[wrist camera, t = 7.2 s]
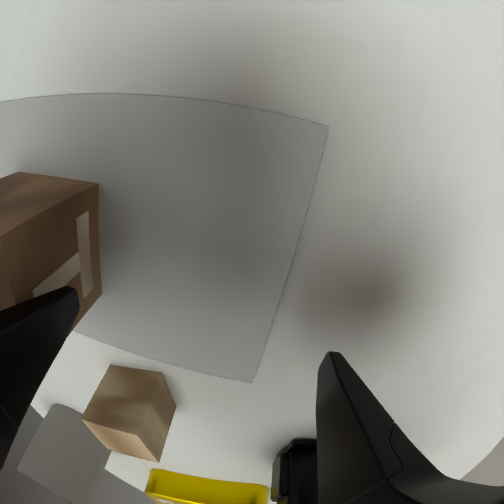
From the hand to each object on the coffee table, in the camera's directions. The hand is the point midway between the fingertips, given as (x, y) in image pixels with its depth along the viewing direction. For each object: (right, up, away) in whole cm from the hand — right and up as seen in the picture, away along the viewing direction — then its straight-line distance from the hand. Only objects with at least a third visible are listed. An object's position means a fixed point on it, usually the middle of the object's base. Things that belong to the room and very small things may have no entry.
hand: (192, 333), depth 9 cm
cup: (-17, -17, +15) cm, 29 cm away
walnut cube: (-6, +2, +1) cm, 6 cm away
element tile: (-4, -31, +21) cm, 37 cm away
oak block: (-6, -7, +9) cm, 12 cm away
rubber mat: (-8, +4, +4) cm, 9 cm away
